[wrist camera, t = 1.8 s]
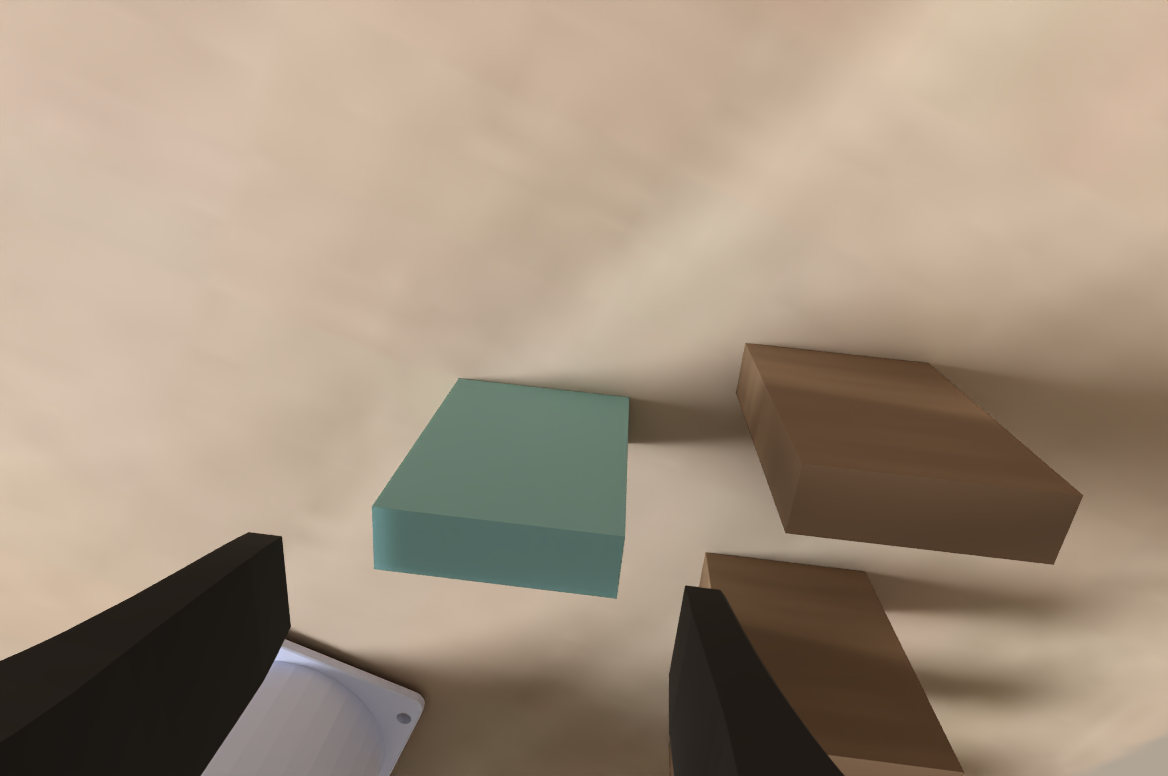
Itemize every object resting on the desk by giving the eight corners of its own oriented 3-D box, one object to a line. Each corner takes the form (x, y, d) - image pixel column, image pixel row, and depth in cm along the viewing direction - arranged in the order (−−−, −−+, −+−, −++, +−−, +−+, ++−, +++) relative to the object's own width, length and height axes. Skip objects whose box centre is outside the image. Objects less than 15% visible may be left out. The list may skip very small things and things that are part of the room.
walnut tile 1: (913, 412, 19) (1053, 564, 13) (736, 392, 19) (785, 533, 13) (927, 362, 19) (1083, 495, 12) (745, 343, 19) (802, 463, 12)
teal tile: (623, 443, 20) (617, 598, 14) (458, 424, 20) (374, 568, 14) (629, 397, 20) (624, 536, 13) (459, 378, 20) (372, 506, 13)
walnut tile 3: (853, 609, 22) (944, 819, 15) (698, 590, 22) (723, 789, 16) (865, 571, 21) (963, 772, 15) (705, 552, 21) (734, 742, 15)
